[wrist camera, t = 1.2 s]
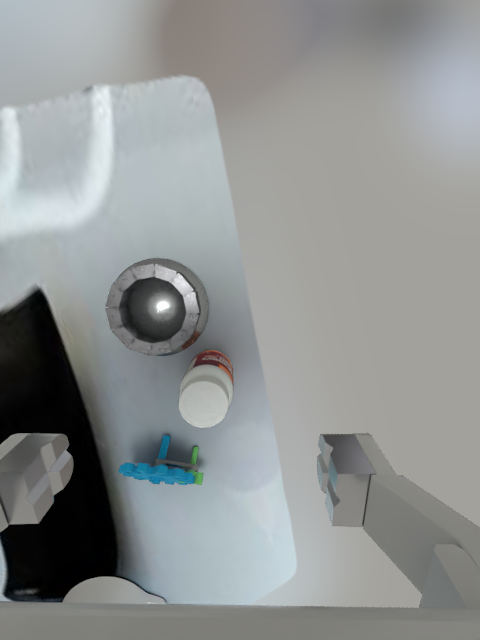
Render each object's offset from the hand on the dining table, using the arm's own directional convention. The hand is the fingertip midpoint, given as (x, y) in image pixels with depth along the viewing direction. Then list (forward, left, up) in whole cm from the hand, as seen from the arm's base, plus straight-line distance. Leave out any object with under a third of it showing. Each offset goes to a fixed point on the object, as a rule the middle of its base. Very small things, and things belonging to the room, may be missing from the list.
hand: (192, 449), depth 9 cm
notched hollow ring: (+3, +8, -30) cm, 31 cm away
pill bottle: (-7, +3, -30) cm, 31 cm away
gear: (-19, +12, -30) cm, 37 cm away
